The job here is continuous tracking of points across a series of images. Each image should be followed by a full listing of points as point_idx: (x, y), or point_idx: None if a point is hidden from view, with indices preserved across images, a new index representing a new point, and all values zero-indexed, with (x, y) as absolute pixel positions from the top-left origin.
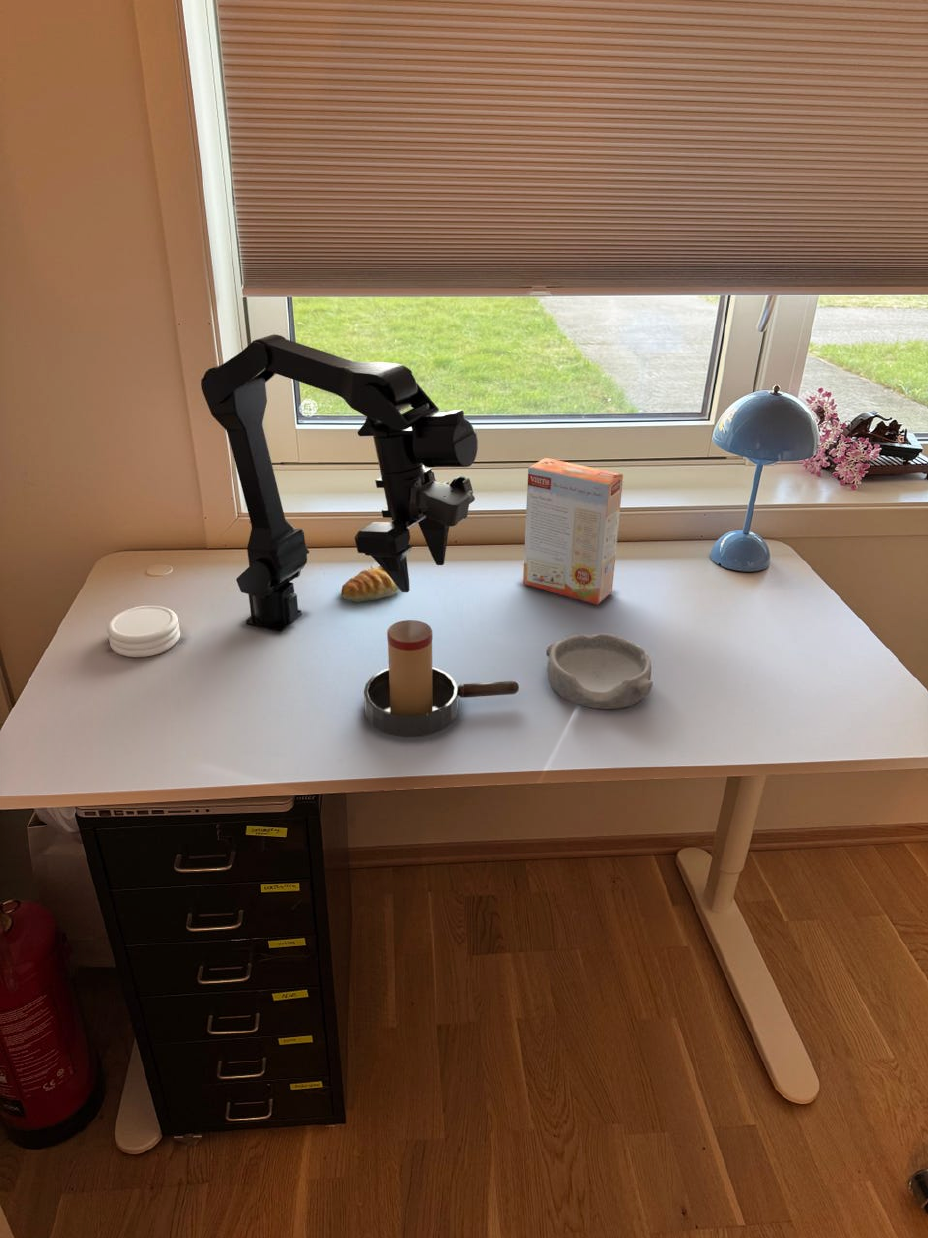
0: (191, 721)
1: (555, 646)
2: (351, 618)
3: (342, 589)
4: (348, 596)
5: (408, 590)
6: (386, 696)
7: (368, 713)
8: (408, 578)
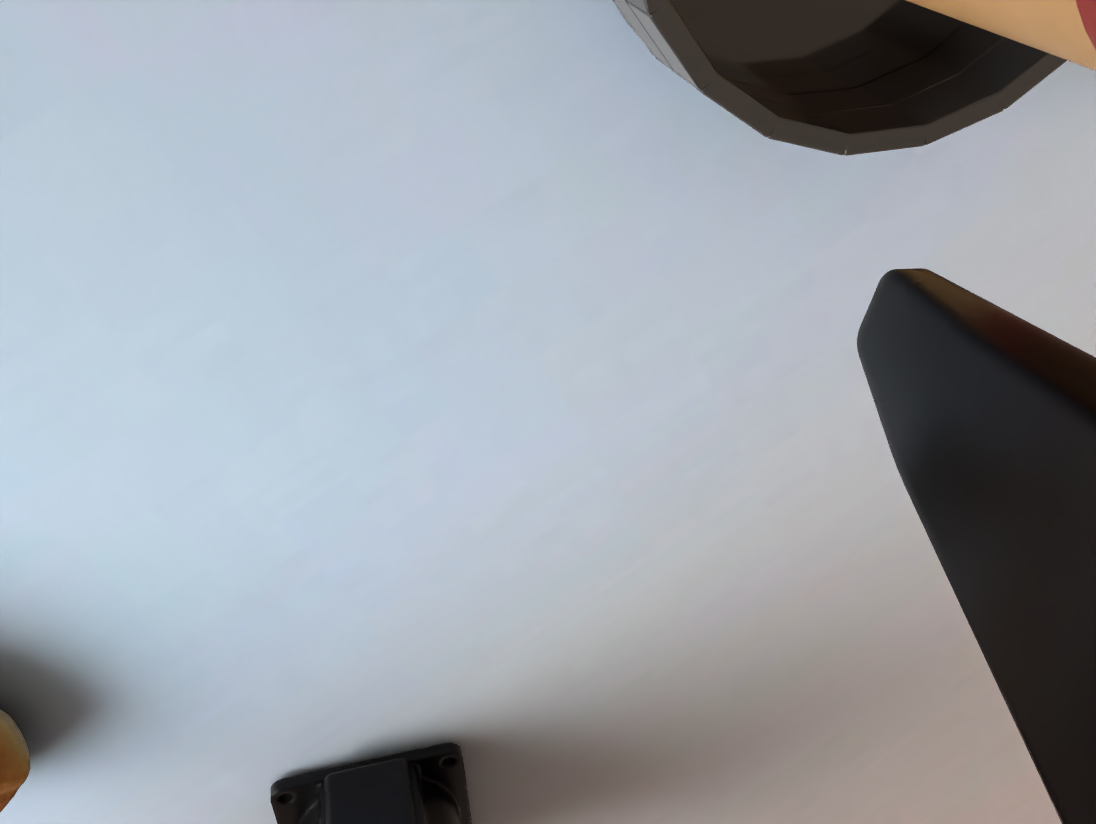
0: None
1: None
2: (151, 626)
3: (3, 807)
4: (26, 751)
5: (924, 272)
6: (777, 41)
7: None
8: (1024, 357)
